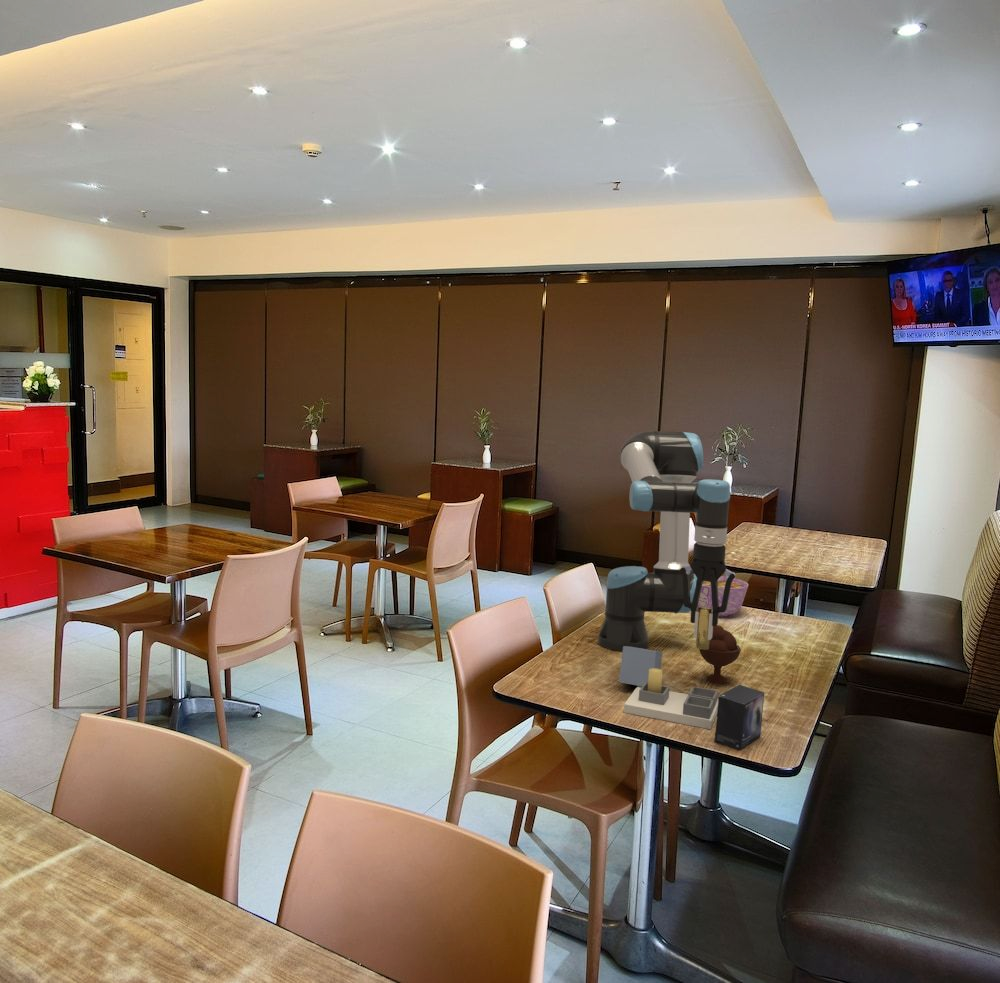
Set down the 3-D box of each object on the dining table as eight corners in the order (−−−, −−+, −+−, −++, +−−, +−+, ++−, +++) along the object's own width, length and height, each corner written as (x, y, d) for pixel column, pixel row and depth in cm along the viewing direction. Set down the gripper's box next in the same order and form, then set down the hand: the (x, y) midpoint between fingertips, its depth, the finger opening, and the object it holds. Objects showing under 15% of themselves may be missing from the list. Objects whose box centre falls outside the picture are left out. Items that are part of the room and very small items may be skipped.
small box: (741, 751, 166) (745, 703, 165) (713, 741, 171) (716, 695, 170) (762, 737, 174) (766, 691, 173) (734, 728, 179) (738, 683, 177)
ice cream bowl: (716, 690, 202) (720, 633, 200) (687, 676, 212) (690, 621, 210) (746, 684, 207) (751, 629, 205) (717, 671, 217) (720, 618, 215)
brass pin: (694, 648, 194) (697, 608, 192) (696, 644, 197) (699, 605, 195) (708, 650, 192) (710, 610, 191) (709, 646, 195) (712, 607, 194)
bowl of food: (689, 618, 269) (691, 585, 268) (685, 604, 289) (687, 573, 288) (750, 623, 266) (752, 590, 265) (742, 608, 286) (744, 577, 284)
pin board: (623, 712, 185) (625, 675, 184) (637, 693, 198) (639, 658, 197) (710, 729, 177) (713, 690, 176) (719, 708, 190) (721, 672, 189)
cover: (618, 682, 198) (623, 646, 200) (626, 681, 206) (630, 646, 207) (651, 688, 195) (656, 651, 196) (658, 687, 203) (662, 651, 204)
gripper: (674, 542, 191) (668, 636, 194) (741, 549, 185) (734, 646, 188) (680, 537, 198) (673, 628, 201) (745, 544, 192) (737, 638, 195)
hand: (703, 636), depth 194 cm, fingers closed on brass pin, 3 cm apart
